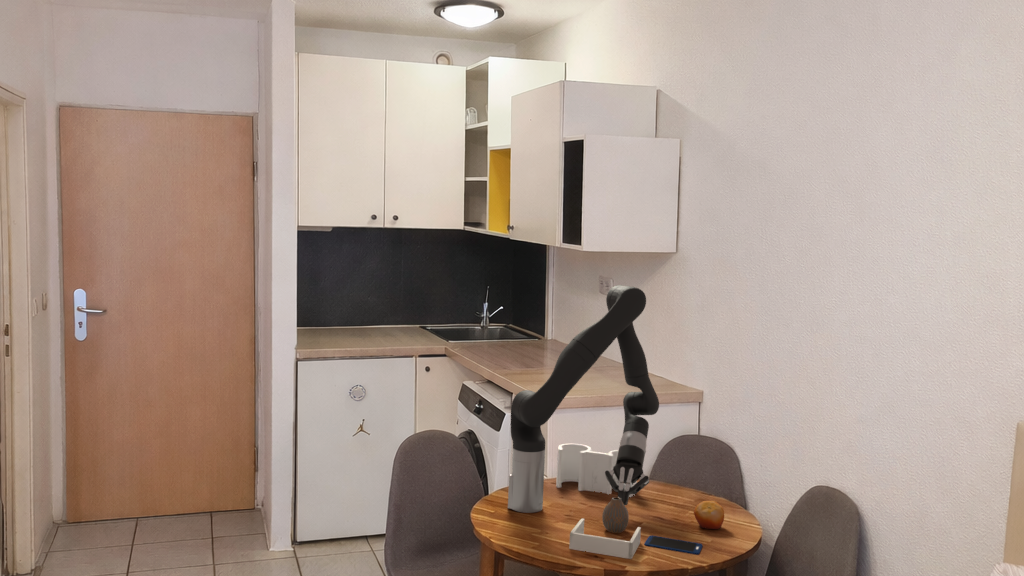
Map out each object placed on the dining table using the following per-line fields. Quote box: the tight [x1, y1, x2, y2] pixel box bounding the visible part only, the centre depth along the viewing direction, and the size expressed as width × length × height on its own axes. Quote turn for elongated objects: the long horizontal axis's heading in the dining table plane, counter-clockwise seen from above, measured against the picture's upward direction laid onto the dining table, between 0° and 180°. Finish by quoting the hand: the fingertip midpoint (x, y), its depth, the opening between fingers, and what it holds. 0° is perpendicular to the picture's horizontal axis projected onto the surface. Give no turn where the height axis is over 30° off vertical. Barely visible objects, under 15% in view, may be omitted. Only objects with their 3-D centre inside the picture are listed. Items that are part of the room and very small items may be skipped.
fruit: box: [693, 500, 725, 530], centre depth 225 cm, size 8×8×8 cm
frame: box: [568, 518, 642, 560], centre depth 207 cm, size 16×12×4 cm
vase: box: [601, 496, 629, 534], centre depth 218 cm, size 7×7×9 cm
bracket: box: [555, 443, 638, 498], centre depth 255 cm, size 25×10×12 cm, turn 69°
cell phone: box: [643, 535, 703, 556], centre depth 210 cm, size 7×14×1 cm, turn 69°
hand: (621, 505), depth 225 cm, fingers closed
